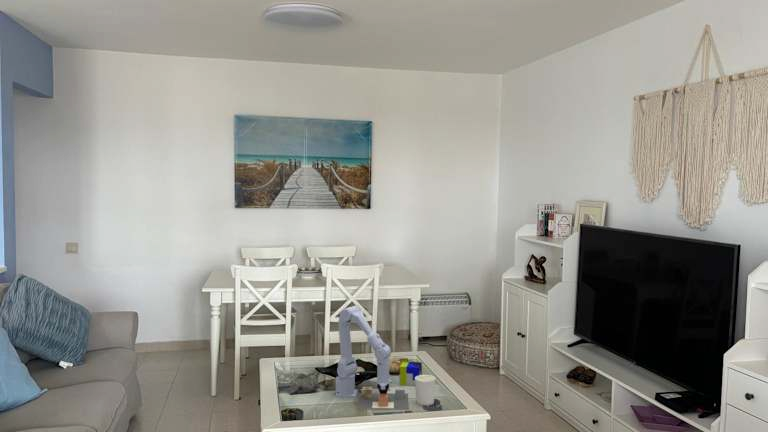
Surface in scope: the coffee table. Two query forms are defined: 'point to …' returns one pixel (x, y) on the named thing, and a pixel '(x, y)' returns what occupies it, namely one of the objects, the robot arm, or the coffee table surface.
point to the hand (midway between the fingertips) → (383, 399)
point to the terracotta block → (383, 400)
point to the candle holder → (425, 389)
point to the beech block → (367, 393)
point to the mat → (392, 405)
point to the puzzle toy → (410, 372)
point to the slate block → (399, 392)
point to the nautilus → (396, 364)
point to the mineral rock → (302, 384)
